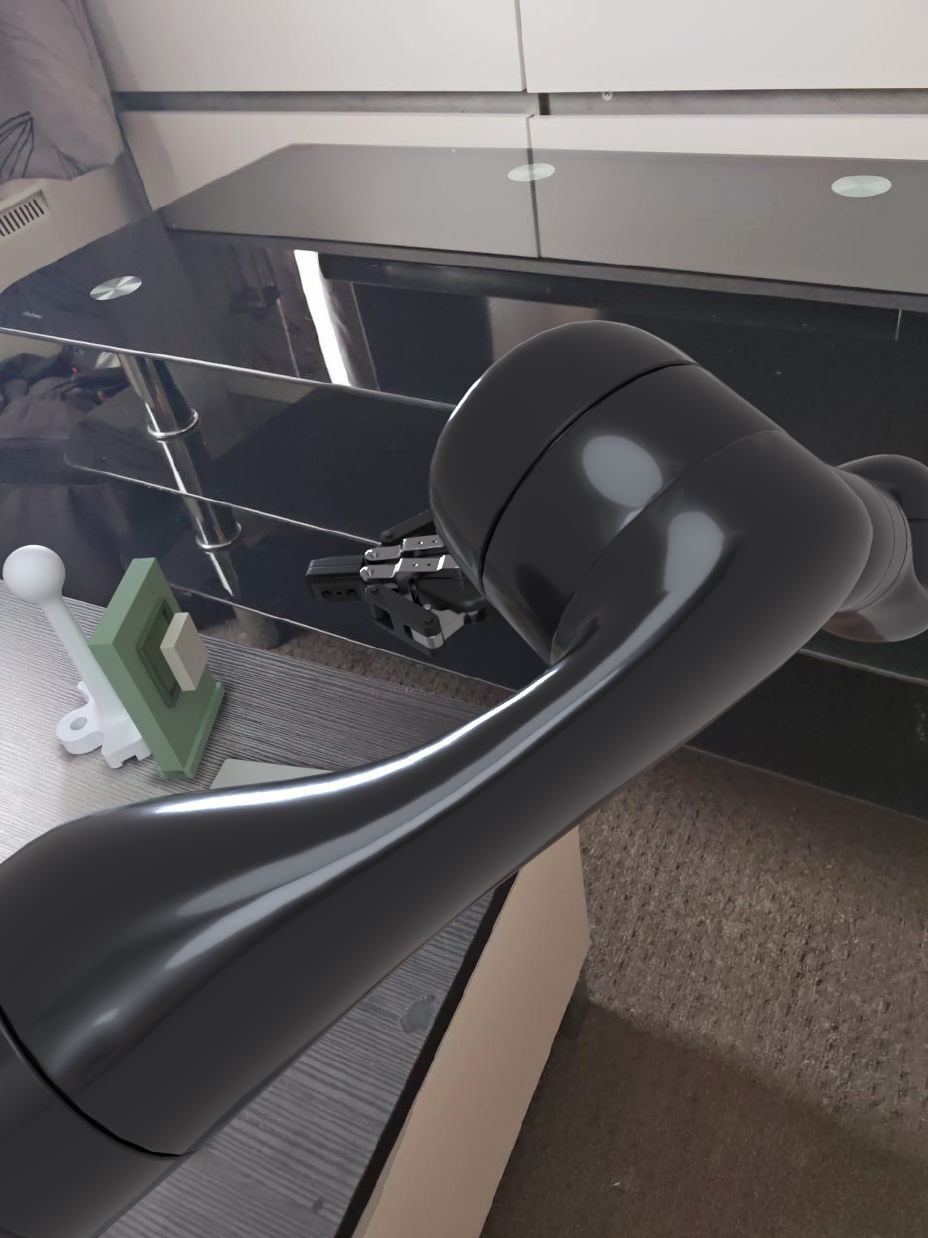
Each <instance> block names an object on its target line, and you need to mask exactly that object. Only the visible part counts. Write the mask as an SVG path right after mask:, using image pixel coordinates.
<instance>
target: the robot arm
mask: <svg viewBox="0 0 928 1238" xmlns="http://www.w3.org/2000/svg"><path fill="white" fill-rule="evenodd" d="M426 484H427V485H426V492H427V493H426V494H427V504H428V509H427V510H425V511H423V512H421V513H419V514H417V515H415V516H413V517H411V518H409V519H407V520H406V521H405V520H404V521H403V522H400V523H399V524H397V525H395V526H393V527H390V528H389V529H387V530H384V531H383V532H381V534H380V535H379V540H380V543H379V544H378V546H376V547H374V548H373V547H372V548H370V549H368V550H367V551H366V552H365V554H357V555H344V556H342V555H341V556H328V557H324V558H320V559H313V560H311V561H310V562H309V564H308V567H307V569H306V573H305V575H304V583H305V585H306V588H307V591H308V594H309V597H310V598H311V599H313V600H314V601H317V602H320V603H324V604H326V603H327V604H329V603H339V602H340V603H348V602H364V603H367V604H368V606H369V610H370V613H371V618H372V622H373V624H374V625H376V627H377V626H378V627H379V628H380V629H381V630H382V629H383V631H386V632H387V633H389V634H390V635H392V636H394V637H396V638H398V639H399V640H401V641H403V642H404V643H406V644H408V645H409V646H411V647H413V648H414V649H416V650H418V651H419V652H421V653H423V654H424V655H426V656H428V657H430V658H432V659H434V658H440V657H442V656H444V655H445V654H446V653H447V646H446V645H447V644H446V640H447V639H449V637H451V636H452V635H453V634H454V633H457V631H458V630H460V628H466V629H474V628H478V627H481V626H483V625H485V624H488V623H492V622H502V623H504V624H506V625H507V626H508V627H509V628H510V629H511V630H513V631H516V633H517V634H518V635H519V636H520V637H521V638H522V639H523V640H524V641H525V642H526V643H527V644H528V645H529V647H530V649H532V650H533V651H534V652H535V653H536V654H537V655H538V657H539V658H540V659H541V660H543V662H544V663H545V664H546V666H548V667H549V668H547V669H546V670H545V671H543V672H542V673H541V674H540V675H539V676H537V677H536V678H534V679H532V680H531V681H530V682H529V683H527V684H526V685H524V686H522V687H521V688H520V689H519V690H517V691H515V692H514V693H512V694H511V695H509V696H508V697H506V698H504V699H502V700H501V701H500V702H498V703H497V704H495V705H493V706H492V707H489V708H488V709H487V710H485V711H484V712H481V713H480V714H478V715H476V716H474V717H472V718H470V719H468V720H466V721H464V722H463V723H461V724H459V725H457V726H455V727H453V728H451V729H449V730H447V731H445V732H444V733H441V734H439V735H438V736H435V737H434V738H432V739H430V740H428V741H425V742H424V743H422V744H420V745H418V746H417V745H416V746H415V747H411V748H410V749H406V750H404V751H402V752H398V753H396V754H393V755H390V756H387V757H383V758H380V759H378V760H373V761H370V762H367V763H363V764H359V765H355V766H351V767H347V768H343V769H338V770H333V771H334V772H328V773H322V774H316V775H310V776H304V777H299V778H293V779H287V780H279V781H270V782H262V783H254V784H246V785H238V786H230V787H222V788H214V789H209V788H207V789H201V790H199V789H198V790H193V791H184V792H178V793H173V794H172V793H171V794H167V795H161V796H154V797H150V798H143V799H138V800H133V801H128V802H123V803H119V804H115V805H111V806H107V807H102V808H100V809H97V810H93V811H91V812H86V813H84V814H81V815H78V816H76V817H73V818H71V819H69V820H66V821H64V822H61V823H59V824H57V825H56V826H54V827H52V828H51V829H49V830H47V831H45V832H44V833H43V834H40V835H39V836H37V837H35V838H34V839H32V840H30V841H29V842H27V843H26V844H24V845H23V846H22V847H20V848H19V849H18V850H16V851H14V853H12V854H11V855H10V856H8V857H6V858H5V860H3V861H2V862H0V1238H99V1237H100V1236H102V1235H103V1234H104V1233H105V1232H107V1231H108V1230H109V1229H110V1228H111V1227H113V1225H114V1224H116V1223H117V1222H118V1221H119V1220H120V1219H122V1218H123V1217H124V1216H125V1215H127V1213H128V1212H130V1211H131V1210H132V1209H133V1208H134V1207H136V1206H137V1205H138V1204H139V1203H140V1202H141V1201H143V1200H144V1199H145V1198H146V1197H147V1196H148V1195H149V1194H151V1193H152V1192H153V1191H154V1190H155V1189H157V1188H158V1187H159V1186H160V1185H161V1184H162V1183H163V1182H165V1181H166V1180H167V1179H168V1178H170V1176H172V1175H173V1174H174V1173H175V1172H176V1171H177V1170H179V1169H180V1168H181V1167H182V1166H183V1165H184V1164H185V1163H187V1162H188V1161H189V1160H190V1159H191V1158H193V1156H195V1155H196V1154H197V1153H198V1152H199V1151H201V1149H203V1148H204V1147H205V1146H207V1145H208V1144H209V1143H210V1142H211V1141H212V1140H213V1139H214V1138H215V1137H216V1136H218V1135H219V1134H220V1133H221V1132H223V1130H224V1129H226V1127H228V1126H229V1125H230V1124H231V1123H232V1122H233V1121H234V1120H235V1119H237V1117H238V1116H239V1115H241V1113H243V1112H244V1111H245V1110H246V1109H247V1108H248V1107H249V1106H250V1105H251V1104H253V1103H254V1102H255V1101H256V1100H257V1099H258V1098H259V1097H260V1096H261V1095H262V1094H264V1092H266V1090H268V1089H269V1088H270V1087H271V1086H272V1085H273V1084H274V1083H276V1081H277V1080H279V1079H280V1078H281V1077H282V1076H283V1075H284V1074H285V1073H286V1072H288V1071H289V1070H290V1069H291V1068H292V1067H293V1066H294V1065H295V1064H296V1063H297V1062H298V1061H300V1059H301V1058H302V1057H304V1056H305V1055H306V1054H307V1053H308V1052H309V1051H310V1050H311V1049H312V1048H313V1047H314V1046H316V1045H317V1044H318V1043H319V1042H320V1041H321V1040H322V1039H323V1038H324V1037H325V1036H327V1035H328V1034H329V1032H331V1031H332V1030H333V1029H334V1028H335V1027H336V1026H337V1025H338V1024H340V1023H341V1022H342V1020H344V1019H345V1018H346V1017H347V1016H348V1015H350V1014H351V1012H353V1011H354V1010H355V1009H356V1008H357V1007H358V1006H359V1005H360V1004H361V1003H362V1002H364V1001H365V1000H366V999H367V998H368V997H369V996H370V995H372V993H373V992H375V991H376V990H377V989H378V988H379V987H381V986H382V985H383V984H384V983H385V982H386V981H387V980H388V979H389V978H390V977H392V975H394V974H395V973H396V972H397V971H398V970H400V968H402V967H403V966H404V965H405V964H406V963H407V962H408V961H410V960H411V959H412V958H413V957H414V956H415V955H416V954H417V953H419V952H420V951H421V950H422V949H424V947H426V946H427V945H428V944H429V943H430V942H432V941H433V940H434V939H436V938H437V937H438V936H439V935H440V934H442V932H444V931H445V930H446V929H447V928H448V927H450V925H452V924H453V923H454V922H455V921H457V920H458V919H459V918H460V917H462V916H463V915H464V914H465V913H467V912H468V911H470V909H471V908H473V907H474V906H475V905H477V904H478V903H479V902H480V901H482V900H483V899H484V898H485V897H486V896H488V895H489V894H491V892H493V891H494V890H496V888H497V887H499V886H501V885H502V884H503V883H504V882H506V881H507V880H508V879H510V878H511V877H512V876H513V875H514V874H517V872H519V871H520V870H522V868H524V867H525V866H527V865H528V864H529V863H530V862H532V861H533V860H534V859H535V858H537V857H538V856H539V855H541V854H542V853H544V852H545V851H546V850H548V849H549V848H550V847H551V846H553V845H554V844H556V842H558V841H559V840H561V839H562V838H563V837H565V835H567V834H568V833H569V832H571V831H572V830H573V829H575V828H577V826H579V825H580V824H582V822H584V821H585V820H586V819H588V818H590V817H591V816H592V815H593V814H594V813H596V812H597V811H598V810H600V809H601V808H602V807H604V806H605V805H607V804H608V803H609V802H610V801H612V800H613V799H615V798H616V797H618V795H620V794H621V793H622V792H624V791H625V790H627V789H628V788H629V787H630V786H632V785H633V784H634V783H636V782H637V781H638V780H639V779H641V778H643V776H645V775H646V774H647V773H649V772H650V771H652V770H653V769H654V768H655V767H657V766H658V765H659V764H661V763H663V761H665V760H666V759H667V758H669V757H670V756H672V755H673V754H674V753H675V752H677V751H678V750H679V749H681V748H682V747H683V746H684V745H686V744H687V743H689V742H690V741H691V740H692V739H694V738H695V737H696V736H698V735H699V734H700V733H702V732H703V731H704V730H706V729H707V728H708V727H710V726H711V725H712V724H713V723H714V722H716V720H718V719H720V718H721V717H722V716H724V715H725V714H726V713H727V712H729V710H731V709H732V708H733V707H734V706H736V705H737V704H738V703H740V702H741V701H742V700H743V699H745V698H746V697H747V696H748V695H750V694H751V693H752V692H754V691H755V690H756V689H758V688H759V687H760V686H761V685H762V684H763V683H764V682H766V681H767V680H768V679H770V678H771V677H772V676H773V675H774V674H775V673H777V671H778V670H780V669H781V668H782V667H783V666H784V665H785V664H786V663H787V662H789V661H790V660H791V659H792V658H793V657H794V656H795V655H797V654H798V653H799V652H800V651H801V649H802V648H804V646H806V644H807V643H809V641H810V640H812V638H813V637H814V636H815V635H816V634H817V633H819V631H820V630H821V631H823V632H825V633H827V634H829V635H831V636H835V637H838V638H840V639H844V640H848V641H853V642H858V643H868V644H885V643H886V644H887V643H895V642H900V641H905V640H908V639H911V638H914V637H916V636H918V635H920V634H922V633H923V632H925V631H927V630H928V466H926V465H925V464H923V463H922V462H920V461H918V460H916V459H913V458H911V457H908V456H904V455H900V454H892V453H881V454H872V455H867V456H864V457H863V456H862V457H860V458H857V459H853V460H850V461H846V462H844V463H841V464H838V465H832V464H829V463H827V462H825V461H822V459H820V458H818V457H817V456H816V455H815V454H814V453H813V452H812V451H810V450H809V449H808V448H807V447H805V446H804V445H803V444H801V443H800V442H799V441H797V440H796V439H795V438H793V437H792V436H791V435H789V434H788V432H787V431H786V430H785V429H783V428H782V427H781V426H780V425H778V424H777V423H776V422H775V421H773V420H772V419H771V418H769V417H768V416H767V415H765V414H764V413H763V412H762V411H760V409H758V408H757V407H756V406H754V405H753V404H752V403H751V402H749V401H748V400H747V399H745V398H744V397H743V396H742V395H740V394H739V393H738V392H737V391H735V390H734V389H733V388H732V387H730V386H729V385H727V384H726V383H725V382H724V381H722V380H721V379H720V378H718V377H717V376H716V375H714V374H713V373H712V372H711V371H710V370H707V369H705V367H703V366H702V365H701V364H699V363H698V362H697V361H696V360H695V359H693V358H692V357H690V356H689V355H688V354H686V353H685V352H684V351H683V350H681V348H680V349H679V347H677V346H675V345H673V344H672V343H670V342H668V341H666V340H664V339H662V338H660V337H658V336H657V335H654V334H652V333H650V332H648V331H647V330H644V329H642V328H639V327H637V326H633V325H630V324H627V323H624V322H618V321H610V320H602V319H591V320H583V321H573V322H567V323H564V324H561V325H559V326H555V327H553V328H549V329H546V330H543V331H540V332H538V333H536V334H535V335H533V336H532V337H530V338H527V339H526V340H524V341H523V342H520V343H519V344H517V345H515V346H513V348H511V349H510V350H509V351H508V352H506V353H505V354H504V355H502V356H501V357H499V359H497V360H496V361H495V362H493V363H492V364H491V365H490V366H489V367H488V368H487V369H486V370H485V372H484V373H483V374H481V376H480V377H479V378H478V379H476V381H475V382H474V383H473V384H472V385H471V386H470V388H469V389H468V390H467V392H466V393H465V395H464V396H463V397H462V398H461V400H460V401H459V403H458V404H457V405H456V407H455V408H454V410H453V411H452V412H451V413H450V415H449V418H448V419H447V421H446V423H445V424H444V426H443V428H442V430H441V432H440V434H439V436H438V439H437V442H436V445H435V447H434V450H433V453H432V456H431V459H430V464H429V470H428V476H427V483H426Z"/></svg>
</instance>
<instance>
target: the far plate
mask: <svg viewBox="0 0 928 1238" xmlns="http://www.w3.org/2000/svg"><path fill="white" fill-rule="evenodd" d="M175 613H183V612H182V610H181V607H180V606H179V604H178V602H177V600H176V597H175V595H174V593H173V591H172V589H171V587H170V585H169V583H168V581H167V578H166V577H165V575H164V572H163V570H162V569H161V566H160V564H159V562H158V560H157V558H156V557H145V558H133V559H131V561H130V564H129V566H128V568H127V569H126V571H125V573H124V575H123V577H122V578H121V581H120V583H119V584H118V586H117V588H116V590H115V591H114V594H113V595H112V598H111V599H110V601H109V603H108V605H107V607H106V608H105V611H104V613H103V614H102V616H101V618H100V619H99V621H98V623H97V625H96V627H95V629H94V631H93V633H92V634H91V637H90V638H89V639H90V640H89V642H88V644H87V646H88V647H89V649H90V651H91V652H92V654H93V656H94V657H95V659H96V661H97V662H98V664H99V666H100V667H101V669H102V671H103V672H104V674H105V676H106V677H107V679H108V681H109V682H110V684H111V686H112V687H113V689H114V691H115V693H116V694H117V696H118V698H119V699H120V701H121V703H122V704H123V706H124V708H125V709H126V711H127V713H128V714H129V716H130V718H131V719H132V721H133V723H134V724H135V726H136V728H137V729H138V731H139V733H140V734H141V736H142V738H143V739H144V741H145V743H146V744H147V746H148V748H149V749H150V751H151V754H152V756H153V758H154V759H155V761H156V763H157V765H158V766H157V768H156V772H157V774H158V776H159V778H160V779H161V780H173V779H194V778H195V777H196V774H197V771H198V768H199V766H200V763H201V760H202V757H203V754H204V752H205V749H206V747H207V744H208V740H209V738H210V735H211V732H212V729H213V727H214V724H215V721H216V719H217V715H218V713H219V710H220V707H221V705H222V701H223V698H224V696H225V693H226V689H225V687H224V685H223V682H216V679H215V677H214V675H213V673H212V672H211V670H210V667H209V665H208V664H207V663H208V662H207V663H206V665H205V668H204V670H203V673H202V676H201V678H200V681H199V683H198V686H197V688H196V690H191V691H182V689H181V687H180V685H179V683H178V682H177V680H176V678H175V676H174V674H173V672H172V670H171V668H170V666H169V664H168V663H167V661H166V659H165V657H164V655H163V653H162V651H161V649H160V646H161V643H162V641H163V639H164V637H165V635H166V632H167V630H168V628H169V626H170V624H171V621H172V619H173V617H174V615H175Z"/></svg>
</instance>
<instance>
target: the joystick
mask: <svg viewBox="0 0 928 1238" xmlns="http://www.w3.org/2000/svg"><path fill="white" fill-rule="evenodd" d="M2 579H3V582H4V584H5V587H6V588H7V590H8V591H9V592H10V593H11V595H14V596H15V597H16V598H18V599H20V600H23V601H25V602H30V603H32V604H35V605H36V606H38V607H39V609H40V610H41V611H42V613H43V614H44V616H45V618H46V619H47V621H48V623H49V625H50V626H51V628H52V630H53V632H54V633H55V635H56V637H57V639H58V640H59V642H60V643H61V645H62V647H63V649H64V651H65V652H66V655H67V656H68V657H69V659H70V661H71V663H72V665H73V666H74V668H75V670H76V671H77V673H78V675H79V676H80V678H81V680H80V681H79V682H78V683H77V685H76V688H77V689H78V691H79V693H80V694H81V696H82V697H83V699H84V701H85V702H86V704H85V705H83V706H82V707H81V706H80V707H79V708H76V709H73V710H71V711H69V712H68V713H67V714H66V715H64V717H62V718H61V719H60V720H59V722H58V724H57V725H56V729H55V735H56V737H57V738H58V739H59V741H60V743H61V744H62V746H63V747H64V748H65V750H66V751H67V752H68V753H70V754H73V755H82V754H87V753H90V752H92V751H94V750H96V749H98V747H100V746H101V749H100V750H101V751H100V753H101V755H102V756H103V758H104V760H105V761H106V763H107V765H109V767H110V768H111V769H118V768H120V767H123V765H124V761H126V760H128V759H130V758H132V757H134V756H136V758H137V760H138V762H139V761H142V760H144V759H145V758H147V757H149V756H151V754H152V753H151V751H150V749H149V748H148V746H147V744H146V743H145V741H144V739H143V738H142V736H141V734H140V733H139V731H138V729H137V728H136V726H135V724H134V723H133V721H132V719H131V718H130V716H129V714H128V713H127V711H126V709H125V708H124V706H123V704H122V703H121V701H120V699H119V698H118V696H117V694H116V693H115V691H114V689H113V687H112V686H111V684H110V682H109V681H108V679H107V677H106V676H105V674H104V672H103V671H102V669H101V667H100V666H99V664H98V662H97V661H96V659H95V657H94V656H93V654H92V652H91V651H90V649H89V647H88V646H87V644H88V642H89V640H90V638H89V636H88V634H87V633H86V631H85V630H84V628H83V626H82V625H81V623H80V622H79V620H78V618H77V617H76V615H75V614H74V612H73V610H72V609H71V607H70V606H69V604H68V603H67V601H66V599H65V598H64V596H63V591H62V590H63V586H64V584H65V580H66V568H65V564H64V562H63V560H62V558H60V556H59V555H58V554H57V553H56V552H55V551H53V550H52V549H51V548H49V547H46V546H43V545H38V544H29V545H24V546H21V547H19V548H17V549H15V550H14V551H13V552H11V553H10V554H9V555H8V557H7V558H6V559H5V562H4V564H3V566H2Z"/></svg>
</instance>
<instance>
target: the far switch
mask: <svg viewBox="0 0 928 1238" xmlns="http://www.w3.org/2000/svg"><path fill="white" fill-rule="evenodd" d="M160 649H161V651H162V653H163V655H164V657H165V659H166V661H167V663H168V664H169V666H170V668H171V670H172V672H173V674H174V676H175V678H176V680H177V682H178V683H179V685H180V687H181V689H182V691H191V690H196V688H197V686H198V683H199V681H200V678H201V676H202V673H203V670H204V668H205V665H206V663H208V661H209V658H210V654H209V652H208V650H207V648H206V646H205V643H204V641H203V640H202V637H201V636H200V633H199V631H198V629H197V626H196V625H195V623H194V620H193V617H192V616H191V614H190V612H182V613H175V615H174V617H173V619H172V621H171V624H170V626H169V628H168V630H167V632H166V635H165V637H164V639H163V641H162V643H161V646H160Z"/></svg>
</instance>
